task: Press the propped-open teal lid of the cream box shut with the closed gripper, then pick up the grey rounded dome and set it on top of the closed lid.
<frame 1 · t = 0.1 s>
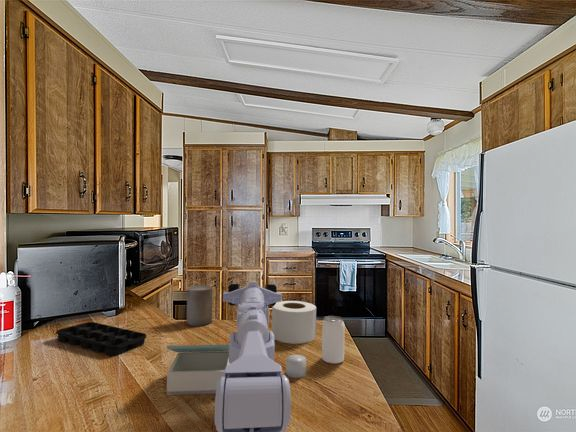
hand: (252, 287, 92), 22 cm above the countertop, tool horizontal, fingers open, 7 cm apart
lid: (202, 348, 83), point 8 cm above the countertop, hinge at 25.0°
can: (332, 360, 97), on the countertop
box: (201, 381, 82), on the countertop
toilet paper roll: (293, 336, 117), on the countertop
black muffin tray: (100, 344, 107), on the countertop
pillar candle: (199, 323, 130), on the countertop
grey rounded dome: (296, 373, 88), on the countertop
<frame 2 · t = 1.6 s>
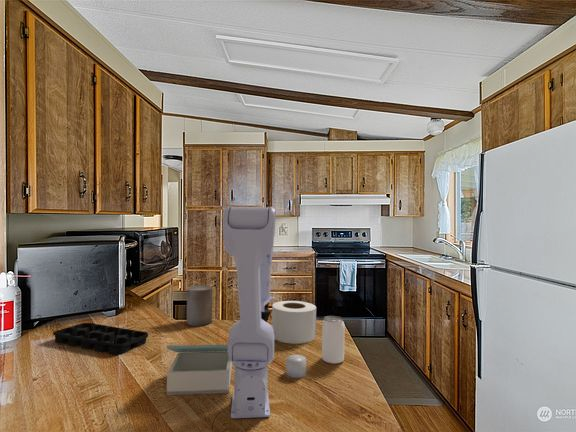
hand: (258, 331, 89), 10 cm above the countertop, tool pointing down, fingers open, 7 cm apart
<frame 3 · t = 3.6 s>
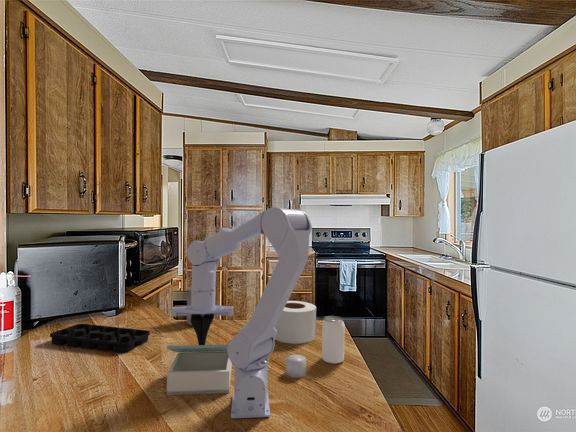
hand: (202, 345, 82), 9 cm above the countertop, tool pointing down, fingers closed, pressing on lid
lid: (202, 348, 83), point 8 cm above the countertop, hinge at 25.0°, touching gripper
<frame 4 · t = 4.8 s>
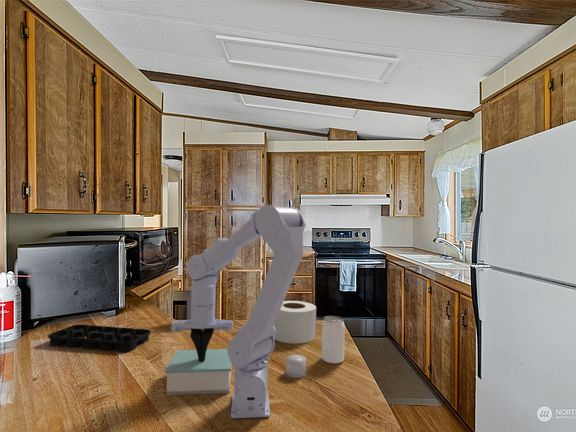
hand: (201, 359, 82), 6 cm above the countertop, tool pointing down, fingers closed
lid: (202, 360, 82), point 5 cm above the countertop, hinge at 0.6°
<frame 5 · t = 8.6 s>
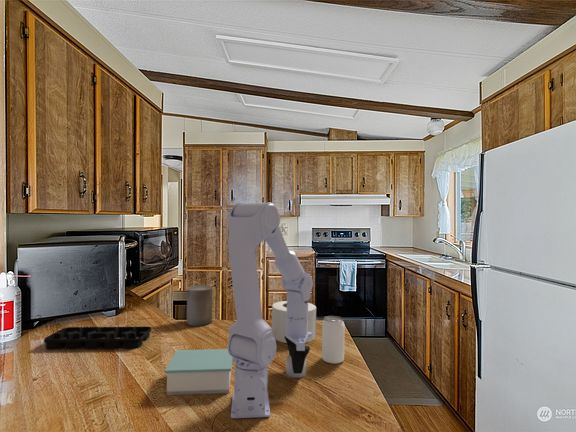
hand: (296, 367, 88), 1 cm above the countertop, tool pointing down, fingers closed on grey rounded dome, 5 cm apart
grey rounded dome: (295, 373, 88), on the countertop, touching gripper
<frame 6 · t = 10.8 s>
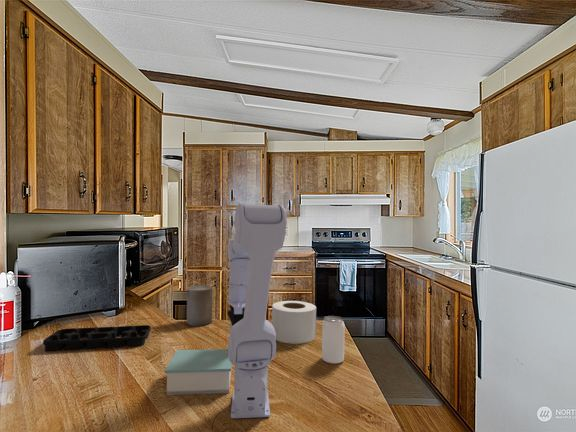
hand: (238, 333, 90), 9 cm above the countertop, tool pointing down, fingers closed on grey rounded dome, 5 cm apart
grey rounded dome: (238, 339, 90), point 8 cm above the countertop, touching gripper
when the fingers open (8 cm above the countertop, at t = 13.0 s): grey rounded dome drops 1 cm, resting on lid.
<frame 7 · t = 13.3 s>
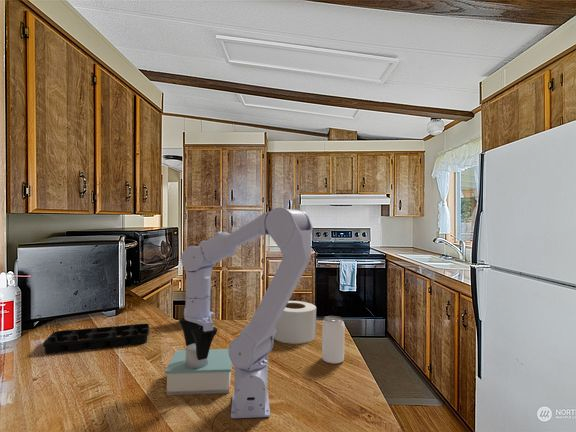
hand: (196, 353, 80), 8 cm above the countertop, tool pointing down, fingers open, 7 cm apart
lid: (202, 360, 82), point 5 cm above the countertop, hinge at -0.1°, touching grey rounded dome
grey rounded dome: (196, 363, 80), point 6 cm above the countertop, touching lid
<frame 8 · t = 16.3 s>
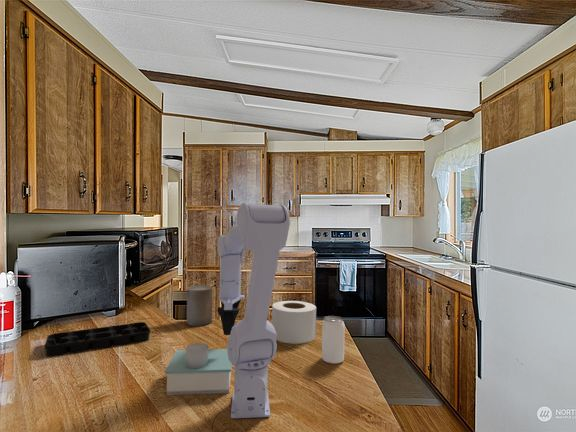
hand: (229, 329, 90), 10 cm above the countertop, tool pointing down, fingers open, 7 cm apart
at the end: lid at +0° (first picture: +25°); grey rounded dome inside the target area (1.9 cm from its centre), point 5.6 cm above the countertop; grey rounded dome tilted 1° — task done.
